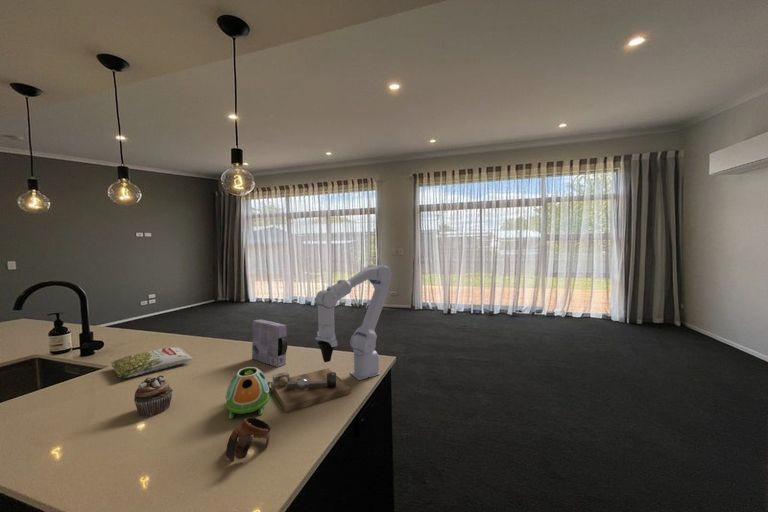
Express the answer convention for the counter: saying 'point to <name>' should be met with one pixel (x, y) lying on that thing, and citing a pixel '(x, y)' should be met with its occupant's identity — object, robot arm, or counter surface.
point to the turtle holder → (247, 392)
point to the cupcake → (153, 396)
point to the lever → (313, 382)
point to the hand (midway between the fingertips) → (327, 361)
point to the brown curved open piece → (246, 437)
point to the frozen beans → (150, 361)
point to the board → (306, 390)
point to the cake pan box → (269, 342)
